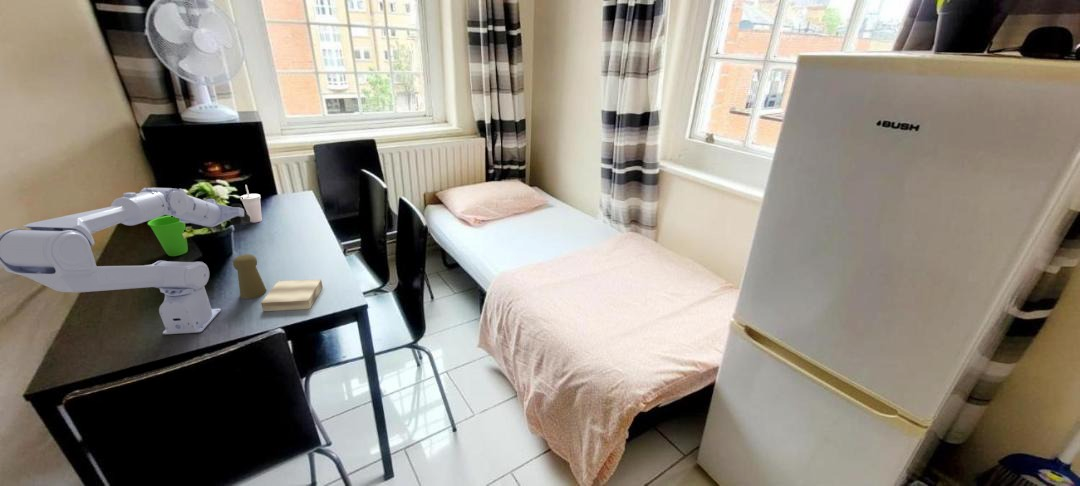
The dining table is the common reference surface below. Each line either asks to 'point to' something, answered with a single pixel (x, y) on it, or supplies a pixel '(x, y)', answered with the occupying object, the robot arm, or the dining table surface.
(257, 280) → the cork
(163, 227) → the cup
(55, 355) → the dining table surface
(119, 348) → the dining table surface
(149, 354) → the dining table surface
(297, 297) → the birch riser block
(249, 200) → the smoothie
